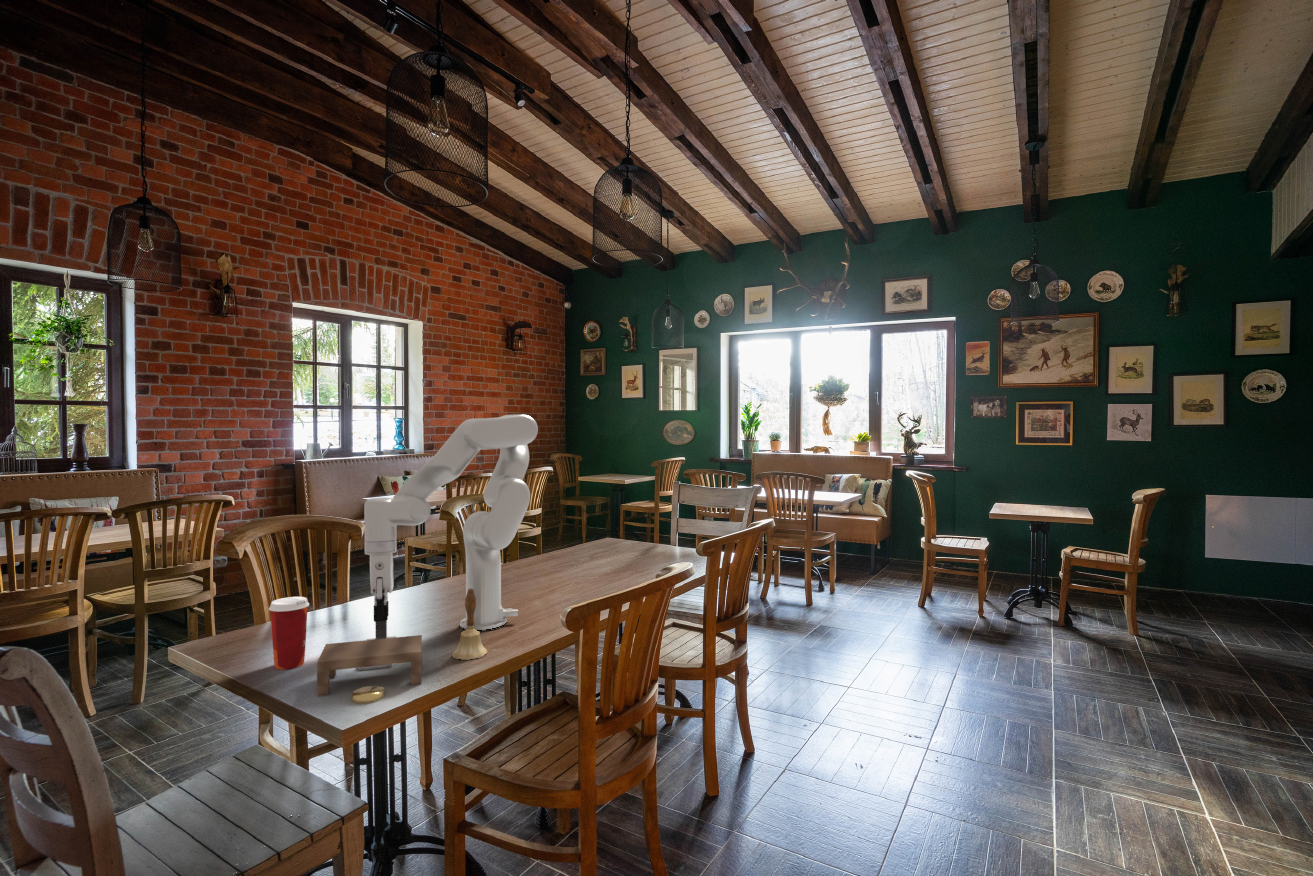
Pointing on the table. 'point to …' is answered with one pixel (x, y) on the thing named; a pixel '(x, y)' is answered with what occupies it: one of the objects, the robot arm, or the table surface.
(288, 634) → the coffee cup
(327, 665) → the walnut bench
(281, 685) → the table surface
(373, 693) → the brass puck
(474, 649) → the hand bell
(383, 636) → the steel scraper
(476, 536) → the robot arm
